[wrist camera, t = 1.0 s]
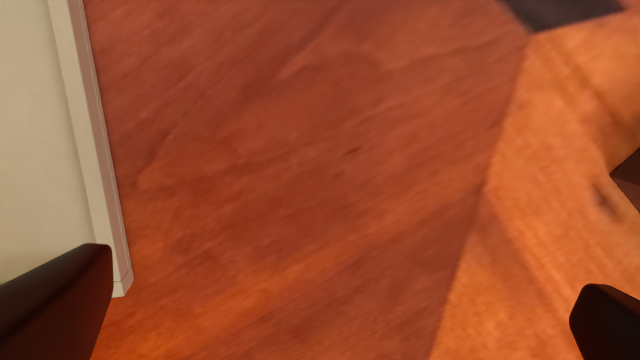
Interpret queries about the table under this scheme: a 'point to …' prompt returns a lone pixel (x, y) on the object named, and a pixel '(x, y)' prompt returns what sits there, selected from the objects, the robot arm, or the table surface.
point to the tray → (53, 142)
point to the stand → (629, 178)
